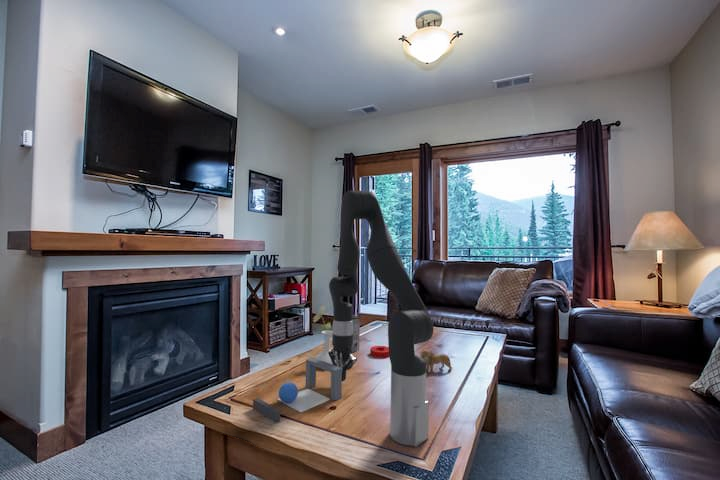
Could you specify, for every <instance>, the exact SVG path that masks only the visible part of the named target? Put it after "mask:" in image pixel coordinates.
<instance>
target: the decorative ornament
mask: <svg viewBox="0 0 720 480" xmlns="http://www.w3.org/2000/svg"><path fill="white" fill-rule="evenodd" d="M369 351H370V352H369V355H370V356H371V357H372V358H377V359H386V358H389V346H385V345H374V346H371V347H370V350H369Z"/></svg>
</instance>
